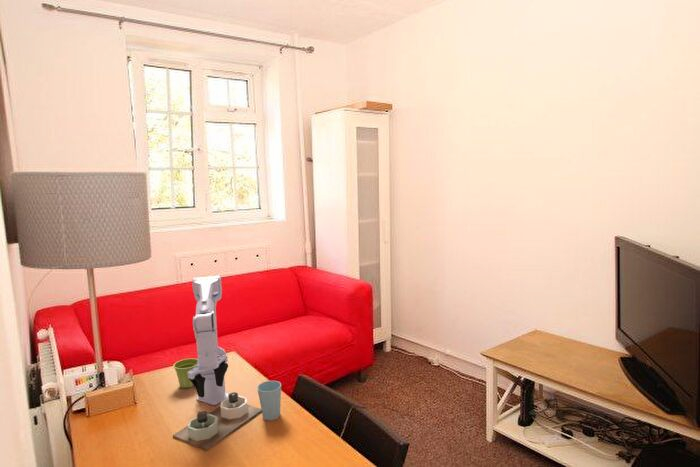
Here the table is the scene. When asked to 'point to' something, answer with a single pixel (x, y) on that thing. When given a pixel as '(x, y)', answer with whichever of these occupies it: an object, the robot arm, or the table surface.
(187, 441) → the board
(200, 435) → the housing
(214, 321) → the robot arm
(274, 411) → the cup
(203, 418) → the plunger
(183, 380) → the plant pot
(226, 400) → the housing
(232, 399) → the plunger
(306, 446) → the table surface
